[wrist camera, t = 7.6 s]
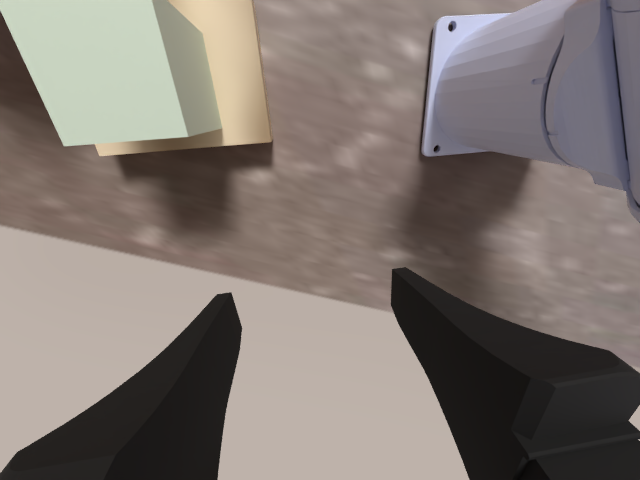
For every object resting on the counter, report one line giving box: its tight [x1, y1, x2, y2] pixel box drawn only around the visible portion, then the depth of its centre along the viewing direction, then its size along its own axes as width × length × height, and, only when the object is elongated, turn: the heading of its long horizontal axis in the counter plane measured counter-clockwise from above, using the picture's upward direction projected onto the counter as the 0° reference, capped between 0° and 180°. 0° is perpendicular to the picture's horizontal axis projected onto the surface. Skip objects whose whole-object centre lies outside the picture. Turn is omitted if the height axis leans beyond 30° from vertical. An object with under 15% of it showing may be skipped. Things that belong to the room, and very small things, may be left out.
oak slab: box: [95, 0, 273, 156], centre depth 15 cm, size 10×7×2 cm
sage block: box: [0, 0, 222, 146], centre depth 12 cm, size 4×4×6 cm
